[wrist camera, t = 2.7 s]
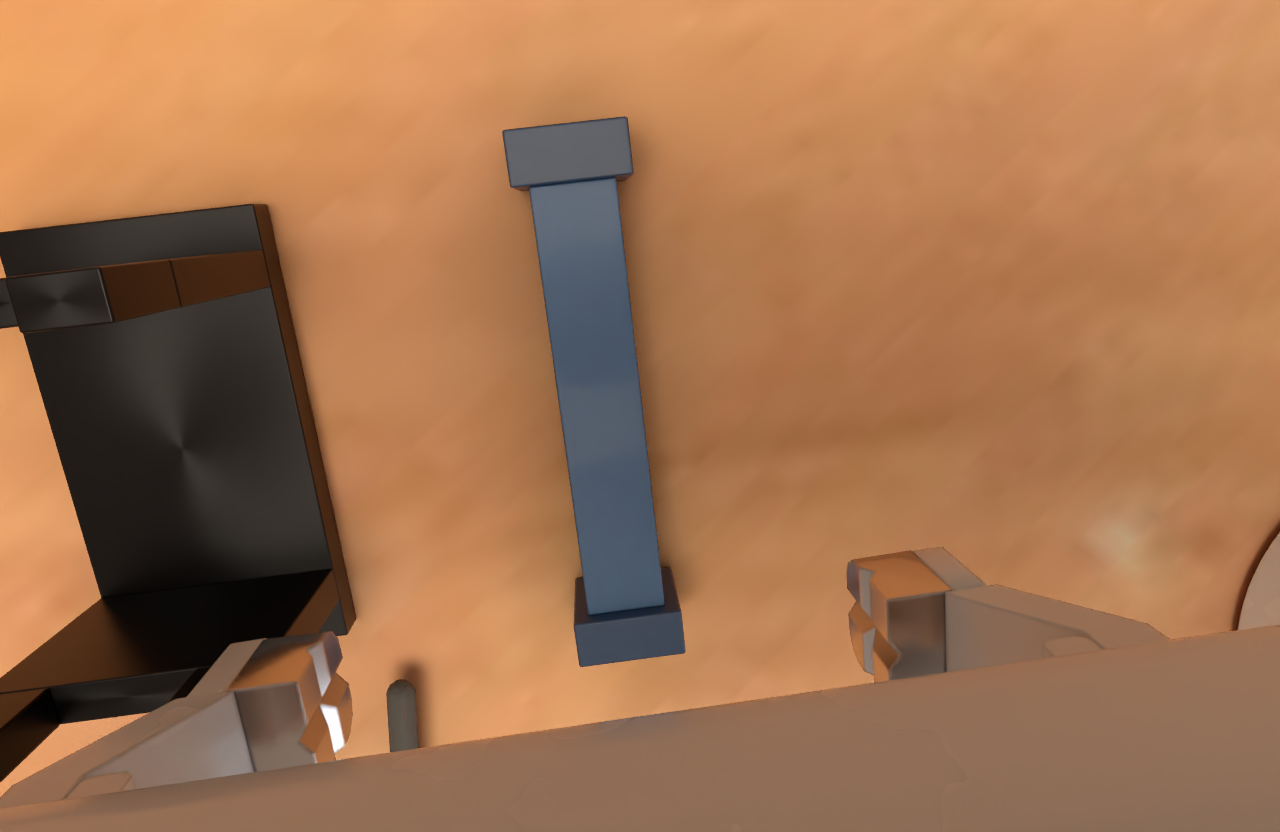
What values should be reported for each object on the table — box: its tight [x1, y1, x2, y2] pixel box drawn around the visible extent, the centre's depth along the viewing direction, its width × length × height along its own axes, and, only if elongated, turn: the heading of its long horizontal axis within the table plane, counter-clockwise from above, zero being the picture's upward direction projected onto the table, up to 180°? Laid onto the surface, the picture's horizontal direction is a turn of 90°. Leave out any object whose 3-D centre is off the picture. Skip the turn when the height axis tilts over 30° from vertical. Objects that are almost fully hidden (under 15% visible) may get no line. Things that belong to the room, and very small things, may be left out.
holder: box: [0, 204, 356, 782], centre depth 24 cm, size 8×15×10 cm, turn 6°
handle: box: [502, 117, 686, 667], centre depth 27 cm, size 4×17×4 cm, turn 6°
